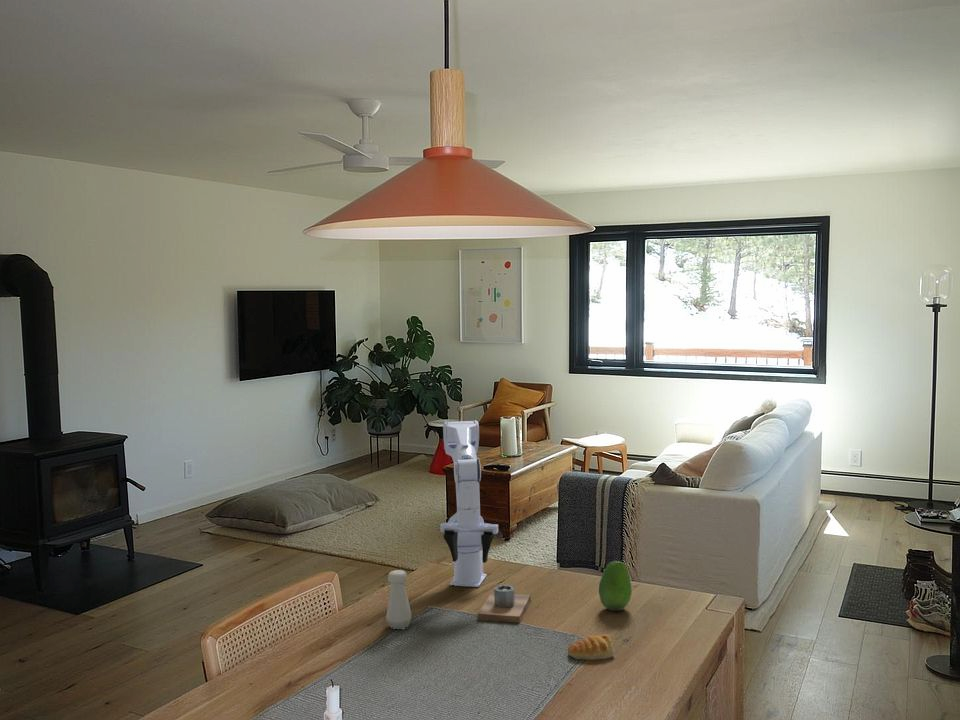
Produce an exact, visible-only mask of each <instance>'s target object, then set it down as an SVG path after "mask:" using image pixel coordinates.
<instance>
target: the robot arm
mask: <svg viewBox="0 0 960 720" xmlns="http://www.w3.org/2000/svg"><path fill="white" fill-rule="evenodd" d="M479 424H480V423H479V421H477V420H476V419H475V420H465V421H464V420H462V421H461V420H460V421H444V422H443V425H442V433H443V449H444V451H445V454H446V455H448V456H450V457H451V458H452V462H453V476H454V483H455V494H456V495H455V496H456V498H455V499H456V512H455V513H454V514H453V515H452V516H450V518H448V521H447V522H441V523H440V524H439V530H440V531H439V532H440V533H444V534H443V536H442V537H443V539H444V541H445V542H446V544H447V546H448V549H449V552H450V554H451V558H452V562H453V579H452V580H451V581H450V583H449V586H452V585H454V587H468V588H469V587H471V588H472V587H473V588H479V587H480V586H481V584H483V581H484V580H485V578H487V576H488V575H487V573H484V563H485V564H486V563H487V562H488V558H489V557H488V556H489V552H490V549H491V545H492V542H493V539H494V537H495V535H497V534H498V533H499V524H496V523H494V524H492V523H487V522H485V521H484V519H483V516H481V502H480V500H481V499H480V498H481V497H480V493H481V492H480V482H481V478H482V466H481V462H480V461H481V460H480V458H479V457H478V456H477V453H478V449H479V443H480V442H479V441H480V426H479Z"/></svg>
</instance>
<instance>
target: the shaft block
mask: <svg viewBox="0 0 960 720" xmlns="http://www.w3.org/2000/svg"><path fill="white" fill-rule="evenodd" d="M501 590H508V589H501ZM530 603H531V594H520V593H515V604H514V606H513V607H509V608H499V607H497V606H495V600H494V592H490V594H489V596H488V597H487V599H486V600H485V602H484V604H483V605H482V606H481V607H480V609H479V611H478V612H477V620H478V619H480V620H479V621H487V620H491V622H501V621H505V622H504V623H515V624H516V623H521V621H522V619H523V617H524V615H525V613H526V612H527V609H528V607H529V605H530Z"/></svg>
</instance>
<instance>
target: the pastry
mask: <svg viewBox="0 0 960 720" xmlns="http://www.w3.org/2000/svg"><path fill="white" fill-rule="evenodd" d="M567 654H568V656H570V657H572V658H574V659H576V660H589V661H594V660H603V659H604V660H605V659H611V658H613V657H614V655H615V648H614V645H613V642H612V639H611V637H610V636H609V635H608V634H605V633H601V635H592V636H591V635H588V636H586V637H585V638H582V639H580V640H577V641H575V642H573V643H571V644H569V646H568V650H567Z"/></svg>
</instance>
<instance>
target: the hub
mask: <svg viewBox="0 0 960 720" xmlns="http://www.w3.org/2000/svg"><path fill="white" fill-rule="evenodd" d="M501 589H508V590H501ZM515 590H516V589H515V586H512V585H510V584H501V585H500V584H499V585H496V586H495V587H494V589H493V593H494V600H495V606H497V607H499V608H509V607H513V606H514V604H515V594H516V591H515Z"/></svg>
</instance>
